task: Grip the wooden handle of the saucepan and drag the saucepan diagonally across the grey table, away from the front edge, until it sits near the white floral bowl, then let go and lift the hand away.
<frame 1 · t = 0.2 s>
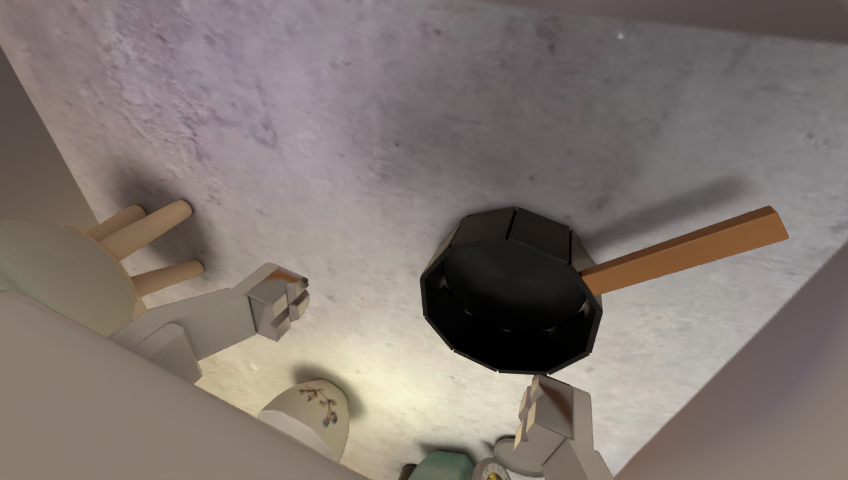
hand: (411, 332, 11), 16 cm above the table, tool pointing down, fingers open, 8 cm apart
planter: (178, 227, 42), on the table
pocket watch: (514, 450, 41), on the table
flower pot: (457, 459, 47), on the table
supplement bottle: (423, 475, 54), on the table
white floral bowl: (328, 393, 51), on the table
saucepan: (511, 276, 28), on the table
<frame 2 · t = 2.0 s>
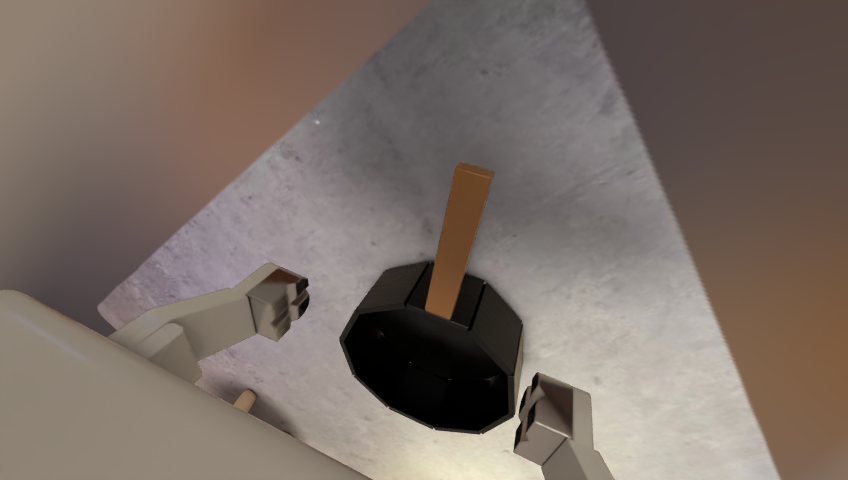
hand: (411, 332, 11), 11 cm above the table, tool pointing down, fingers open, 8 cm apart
planter: (260, 411, 51), on the table
saucepan: (442, 327, 26), on the table
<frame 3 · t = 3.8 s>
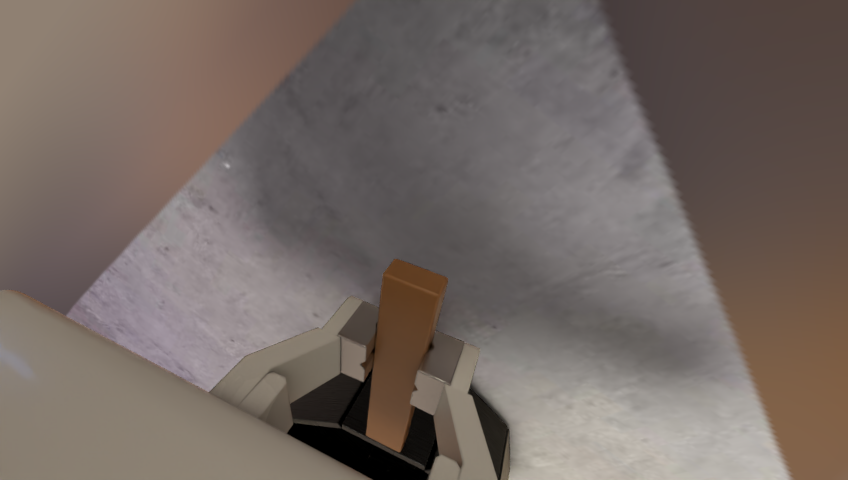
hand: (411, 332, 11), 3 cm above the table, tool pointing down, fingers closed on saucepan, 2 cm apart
saucepan: (408, 416, 21), on the table, touching gripper
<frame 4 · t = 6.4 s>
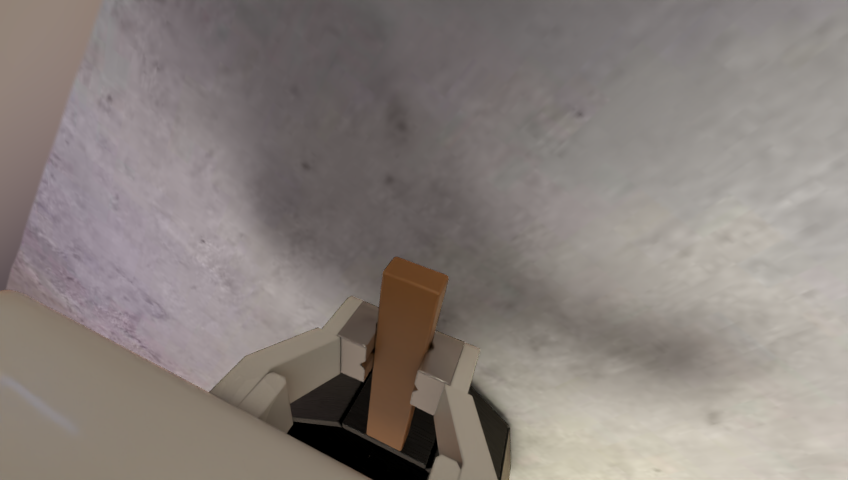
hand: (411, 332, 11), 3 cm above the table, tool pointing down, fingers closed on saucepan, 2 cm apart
saucepan: (408, 414, 21), on the table, touching gripper
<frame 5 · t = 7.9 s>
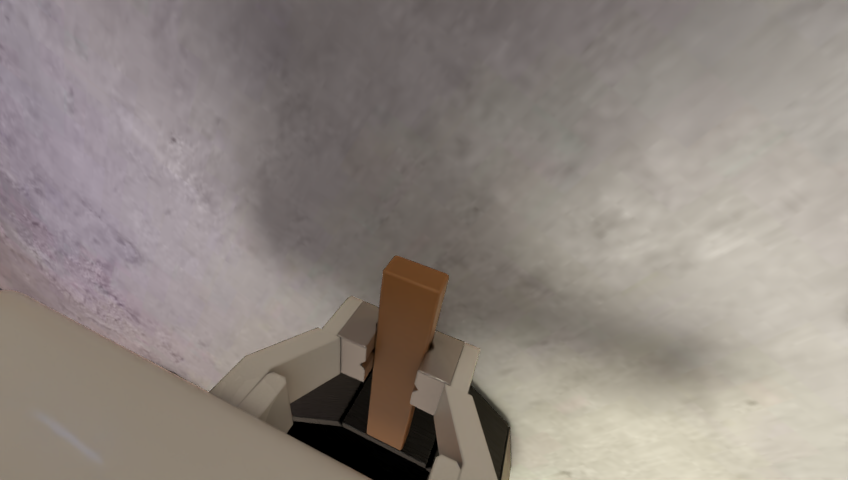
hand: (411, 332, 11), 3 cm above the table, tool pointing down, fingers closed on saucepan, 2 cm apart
saucepan: (409, 414, 21), on the table, touching gripper
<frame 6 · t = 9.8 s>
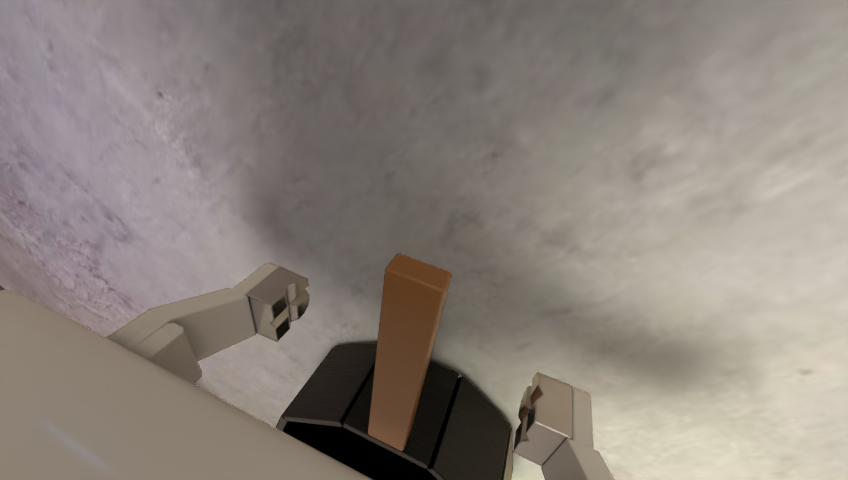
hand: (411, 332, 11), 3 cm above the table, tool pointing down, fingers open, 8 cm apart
saucepan: (410, 415, 21), on the table
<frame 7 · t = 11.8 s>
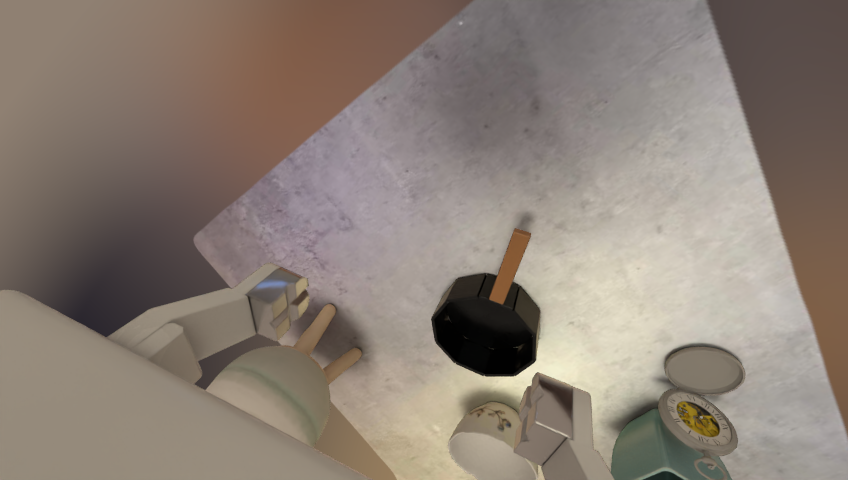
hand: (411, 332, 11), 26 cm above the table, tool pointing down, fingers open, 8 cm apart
planter: (334, 329, 58), on the table
pocket watch: (693, 371, 37), on the table
flower pot: (657, 423, 42), on the table
white floral bowl: (500, 417, 53), on the table
saucepan: (489, 313, 43), on the table
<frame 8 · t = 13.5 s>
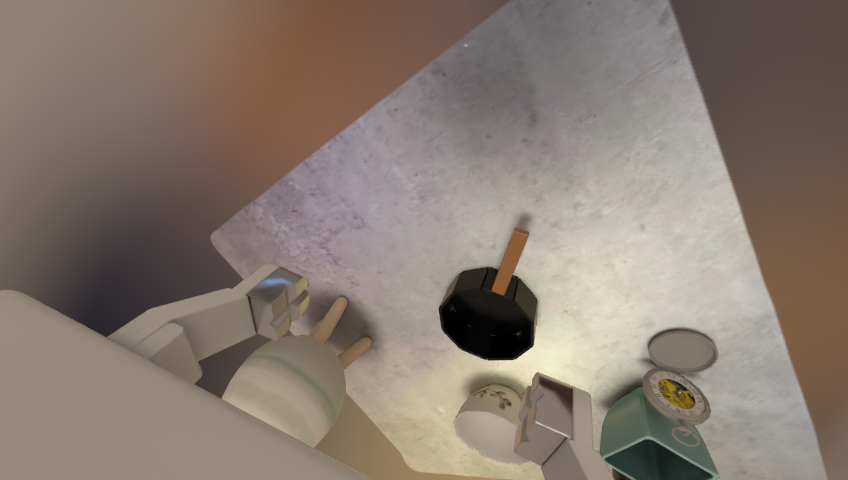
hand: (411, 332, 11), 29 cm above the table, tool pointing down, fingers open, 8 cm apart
planter: (346, 319, 63), on the table
pocket watch: (673, 352, 41), on the table
flower pot: (642, 400, 47), on the table
white floral bowl: (501, 398, 58), on the table
saucepan: (491, 303, 48), on the table
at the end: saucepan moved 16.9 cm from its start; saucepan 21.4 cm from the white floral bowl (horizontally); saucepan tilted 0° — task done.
